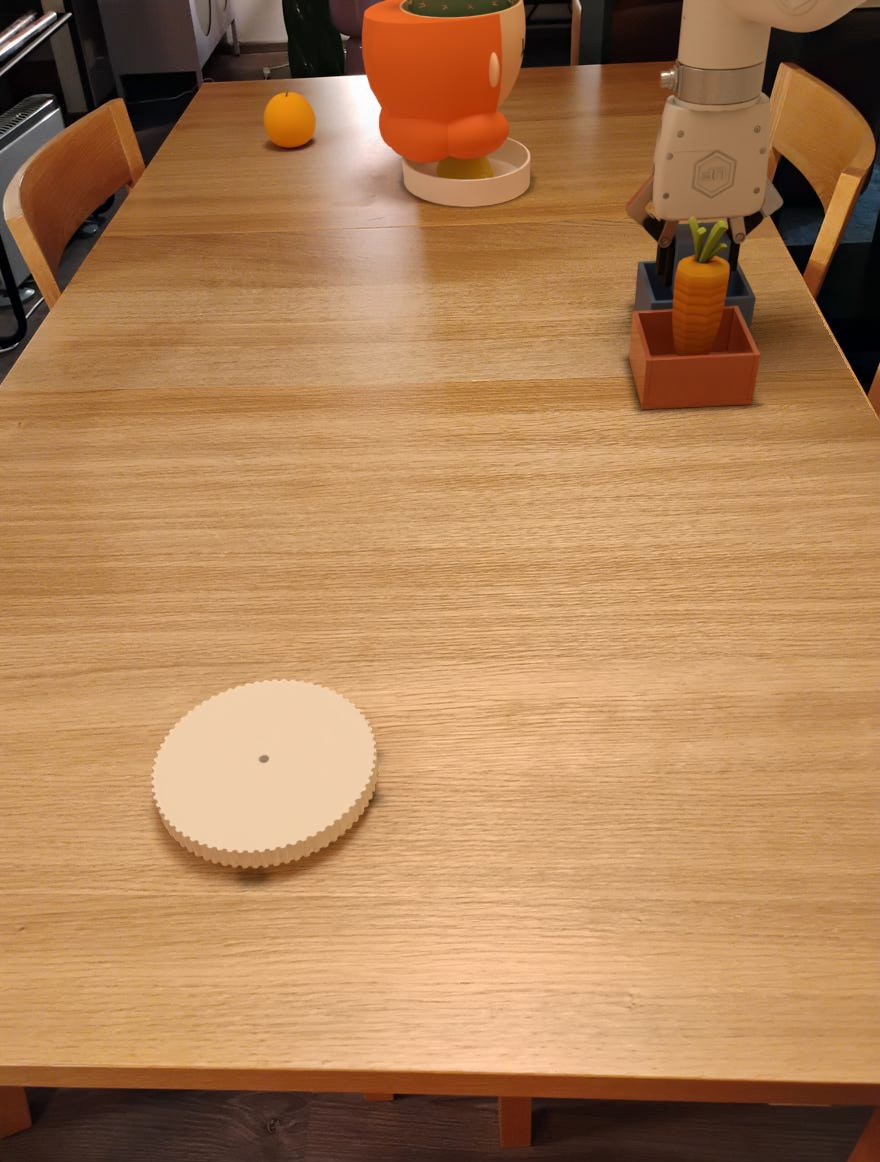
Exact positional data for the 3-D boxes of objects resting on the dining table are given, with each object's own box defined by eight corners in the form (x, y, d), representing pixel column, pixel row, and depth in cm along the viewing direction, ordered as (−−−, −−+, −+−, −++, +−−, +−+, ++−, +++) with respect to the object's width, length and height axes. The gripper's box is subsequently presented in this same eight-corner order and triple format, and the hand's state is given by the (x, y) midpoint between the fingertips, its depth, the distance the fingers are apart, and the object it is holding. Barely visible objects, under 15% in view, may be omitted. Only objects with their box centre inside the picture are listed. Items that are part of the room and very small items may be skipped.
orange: (257, 149, 161) (249, 97, 156) (289, 134, 165) (282, 82, 160) (296, 155, 157) (289, 102, 152) (328, 139, 162) (322, 87, 157)
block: (714, 270, 105) (721, 221, 102) (723, 291, 102) (731, 241, 98) (665, 273, 106) (670, 224, 102) (672, 293, 102) (678, 244, 99)
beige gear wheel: (288, 675, 73) (282, 649, 71) (425, 781, 65) (423, 754, 63) (118, 788, 66) (108, 762, 64) (248, 921, 58) (240, 896, 56)
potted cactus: (489, 146, 153) (483, -146, 130) (557, 192, 137) (565, -132, 114) (353, 175, 149) (322, -123, 125) (407, 225, 133) (384, -105, 109)
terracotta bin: (730, 353, 102) (738, 305, 98) (751, 404, 94) (760, 354, 91) (628, 358, 103) (632, 310, 99) (641, 409, 95) (646, 360, 92)
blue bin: (728, 301, 110) (735, 255, 107) (748, 345, 103) (756, 297, 99) (634, 306, 111) (638, 261, 108) (646, 350, 104) (651, 303, 100)
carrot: (656, 366, 100) (672, 210, 90) (706, 360, 100) (728, 203, 90) (671, 391, 96) (690, 231, 86) (723, 385, 96) (748, 224, 86)
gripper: (626, 100, 89) (612, 300, 102) (828, 87, 88) (789, 291, 100) (616, 76, 95) (604, 269, 107) (806, 63, 93) (772, 260, 106)
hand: (694, 277), depth 103 cm, fingers closed on block, 5 cm apart
